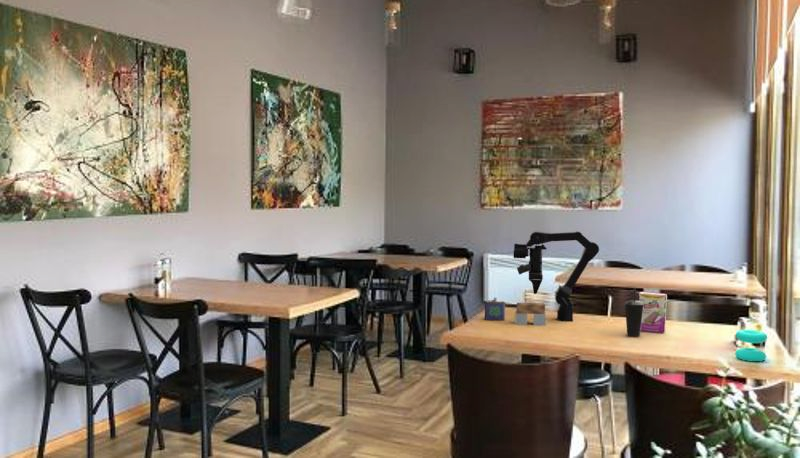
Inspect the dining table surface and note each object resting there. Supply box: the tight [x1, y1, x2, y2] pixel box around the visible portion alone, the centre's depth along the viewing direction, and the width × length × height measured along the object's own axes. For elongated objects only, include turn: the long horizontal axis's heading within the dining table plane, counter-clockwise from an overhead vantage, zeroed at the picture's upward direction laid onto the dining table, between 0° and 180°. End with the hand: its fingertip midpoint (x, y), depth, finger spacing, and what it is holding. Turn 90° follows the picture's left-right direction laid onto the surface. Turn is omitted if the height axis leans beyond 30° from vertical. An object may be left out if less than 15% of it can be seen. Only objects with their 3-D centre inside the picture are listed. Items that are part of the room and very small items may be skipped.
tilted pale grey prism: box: [514, 310, 528, 326], centre depth 306 cm, size 5×5×5 cm
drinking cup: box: [624, 287, 644, 338], centre depth 284 cm, size 8×8×20 cm
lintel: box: [516, 302, 546, 315], centre depth 305 cm, size 12×5×4 cm, turn 84°
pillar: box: [533, 313, 546, 327], centre depth 305 cm, size 5×5×5 cm
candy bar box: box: [638, 291, 668, 334], centre depth 293 cm, size 11×5×16 cm, turn 65°
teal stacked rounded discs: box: [734, 329, 768, 362], centre depth 247 cm, size 10×10×10 cm
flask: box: [484, 297, 506, 322], centre depth 313 cm, size 9×3×11 cm, turn 88°
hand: (535, 292), depth 317 cm, fingers open, 9 cm apart
